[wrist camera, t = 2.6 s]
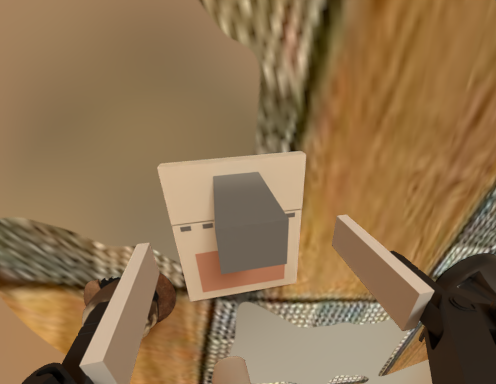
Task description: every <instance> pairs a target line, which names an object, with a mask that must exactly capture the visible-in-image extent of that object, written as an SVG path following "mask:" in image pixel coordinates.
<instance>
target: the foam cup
mask: <svg viewBox="0 0 496 384" xmlns="http://www.w3.org/2000/svg"><path fill="white" fill-rule="evenodd" d="M212 384H251V383H250V379H249V375H248V371H247V366H246V364H245V360H244V359H243V358H241V357H236V356H233V357H227V358H224V359H221V360H220V361H219V362H217V363H216V364H215V366H214V371H213V381H212Z"/></svg>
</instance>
